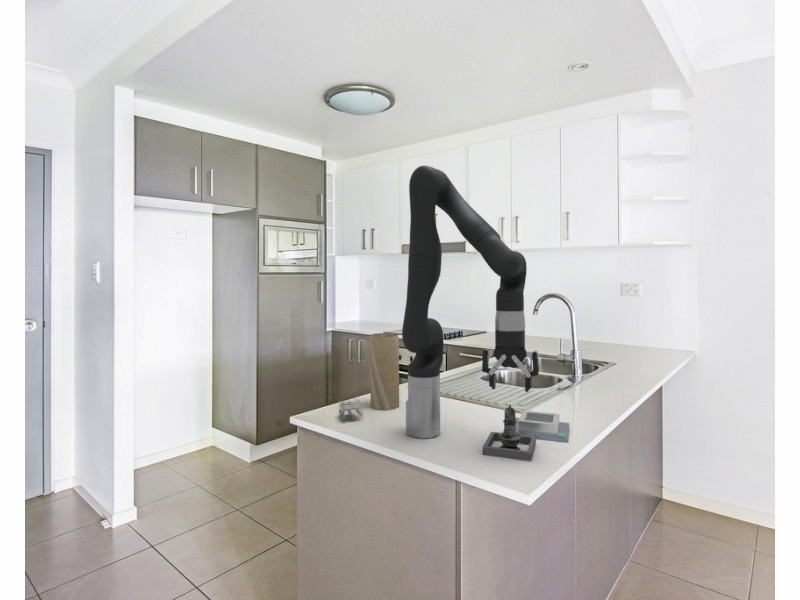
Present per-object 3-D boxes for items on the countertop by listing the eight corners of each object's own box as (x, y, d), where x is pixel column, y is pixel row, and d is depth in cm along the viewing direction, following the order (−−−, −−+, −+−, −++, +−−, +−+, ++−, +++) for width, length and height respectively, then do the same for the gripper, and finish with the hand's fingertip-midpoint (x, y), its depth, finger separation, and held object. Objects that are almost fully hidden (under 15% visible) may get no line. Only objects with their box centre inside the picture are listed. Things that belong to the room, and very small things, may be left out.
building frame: (343, 423, 145) (343, 404, 145) (337, 416, 153) (337, 398, 152) (362, 421, 148) (362, 402, 147) (356, 413, 155) (355, 396, 155)
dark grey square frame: (482, 454, 119) (482, 446, 119) (491, 438, 131) (491, 431, 130) (531, 461, 115) (531, 453, 115) (535, 443, 126) (535, 436, 126)
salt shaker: (517, 444, 126) (518, 400, 125) (524, 453, 120) (524, 407, 119) (496, 445, 126) (496, 401, 125) (501, 453, 120) (501, 407, 119)
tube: (381, 412, 156) (380, 337, 154) (365, 405, 164) (364, 334, 163) (405, 406, 162) (404, 335, 160) (388, 400, 170) (387, 332, 168)
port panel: (507, 435, 133) (508, 421, 133) (514, 420, 146) (514, 407, 146) (567, 442, 127) (567, 428, 127) (569, 426, 140) (569, 413, 140)
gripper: (479, 329, 120) (480, 391, 121) (537, 330, 115) (537, 395, 116) (485, 325, 127) (485, 384, 128) (539, 327, 122) (539, 388, 123)
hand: (510, 389), depth 122 cm, fingers open, 8 cm apart
